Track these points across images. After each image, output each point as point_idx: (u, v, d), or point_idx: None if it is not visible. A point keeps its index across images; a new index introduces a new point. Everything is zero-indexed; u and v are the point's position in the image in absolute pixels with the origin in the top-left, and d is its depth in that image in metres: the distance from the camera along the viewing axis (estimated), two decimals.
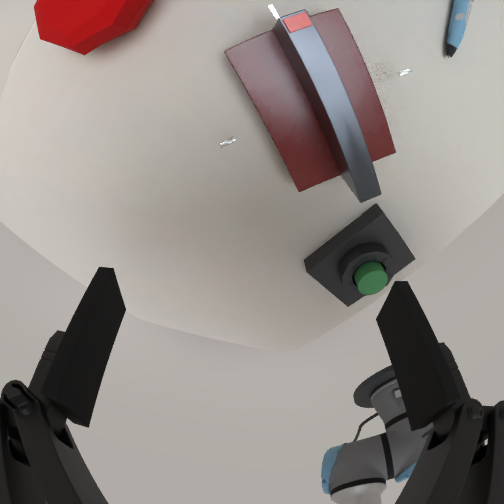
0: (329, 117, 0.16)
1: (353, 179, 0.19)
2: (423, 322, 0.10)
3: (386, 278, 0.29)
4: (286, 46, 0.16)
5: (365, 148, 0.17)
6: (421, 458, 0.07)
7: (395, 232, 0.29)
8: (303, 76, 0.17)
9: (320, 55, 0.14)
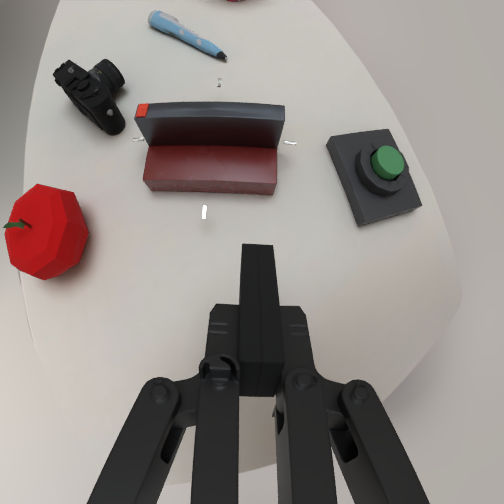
0: (209, 116, 0.24)
1: (262, 118, 0.24)
2: (270, 281, 0.12)
3: (389, 147, 0.28)
4: (159, 133, 0.26)
5: (242, 103, 0.24)
6: (277, 444, 0.08)
7: (354, 134, 0.32)
8: (181, 130, 0.26)
9: (168, 106, 0.24)
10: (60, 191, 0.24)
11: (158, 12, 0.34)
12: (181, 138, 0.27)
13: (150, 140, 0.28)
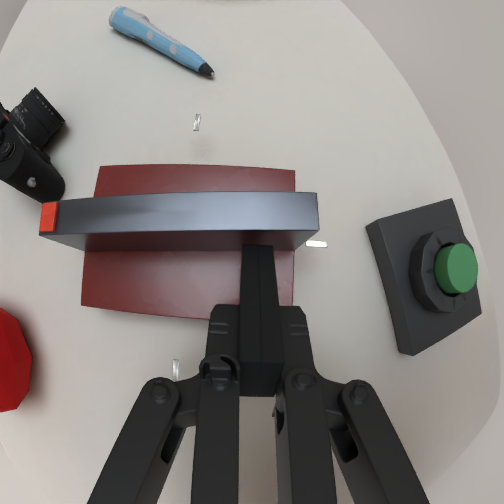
0: (164, 230, 0.12)
1: (274, 229, 0.12)
2: (270, 281, 0.12)
3: (463, 245, 0.17)
4: (91, 244, 0.15)
5: (231, 194, 0.13)
6: (277, 444, 0.08)
7: (409, 213, 0.20)
8: (124, 242, 0.14)
9: (89, 208, 0.12)
10: None
11: (123, 8, 0.22)
12: (129, 247, 0.16)
13: (83, 248, 0.16)
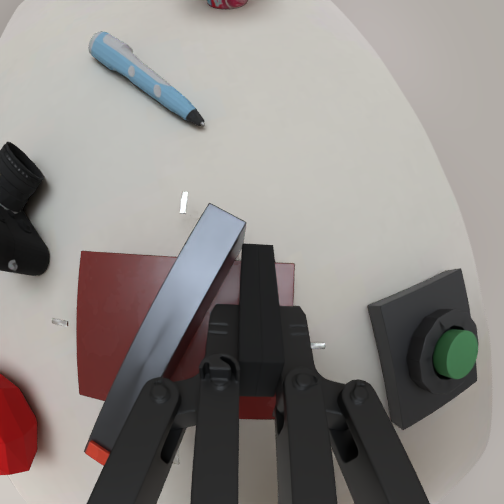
0: (167, 364, 0.11)
1: (221, 263, 0.12)
2: (270, 281, 0.12)
3: (466, 332, 0.15)
4: None
5: (166, 284, 0.11)
6: (277, 444, 0.08)
7: (415, 293, 0.19)
8: None
9: (110, 417, 0.10)
10: None
11: (103, 34, 0.21)
12: None
13: None
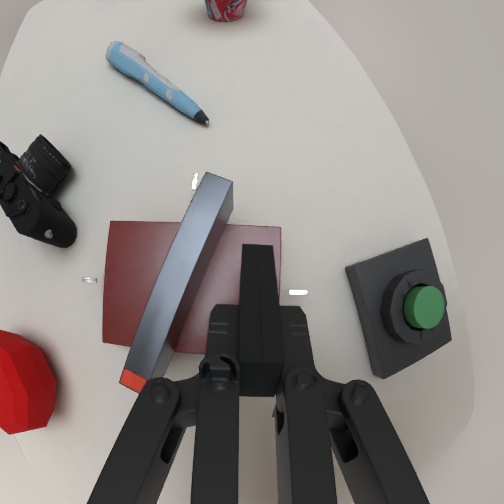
0: (185, 287, 0.16)
1: (218, 210, 0.17)
2: (270, 281, 0.12)
3: (431, 287, 0.21)
4: (165, 360, 0.18)
5: (181, 229, 0.16)
6: (277, 443, 0.08)
7: (385, 256, 0.24)
8: (176, 329, 0.18)
9: (142, 342, 0.15)
10: (10, 354, 0.16)
11: (119, 44, 0.26)
12: (179, 330, 0.19)
13: (163, 372, 0.19)
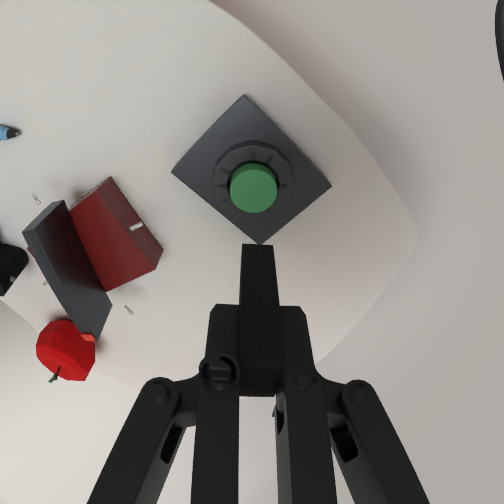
0: (65, 291, 0.22)
1: (42, 248, 0.20)
2: (270, 281, 0.12)
3: (244, 173, 0.21)
4: (99, 308, 0.28)
5: (40, 267, 0.21)
6: (277, 444, 0.08)
7: (196, 146, 0.22)
8: (87, 296, 0.26)
9: (75, 320, 0.25)
10: (51, 345, 0.32)
11: None
12: (94, 288, 0.28)
13: (107, 308, 0.30)
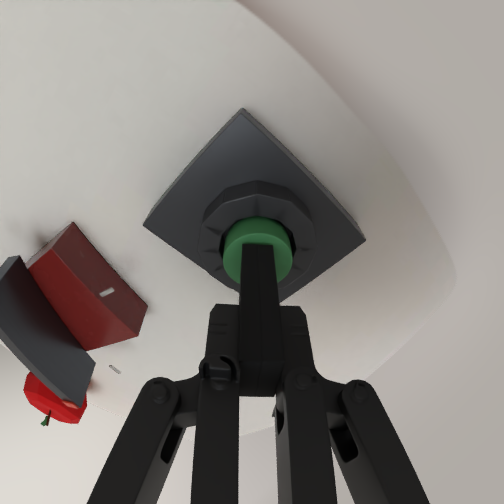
0: (34, 366, 0.16)
1: None
2: (270, 281, 0.12)
3: (244, 238, 0.14)
4: (79, 373, 0.22)
5: (2, 340, 0.15)
6: (277, 443, 0.08)
7: (174, 190, 0.16)
8: (63, 363, 0.20)
9: (53, 390, 0.19)
10: (38, 392, 0.26)
11: None
12: (71, 351, 0.21)
13: (90, 369, 0.24)
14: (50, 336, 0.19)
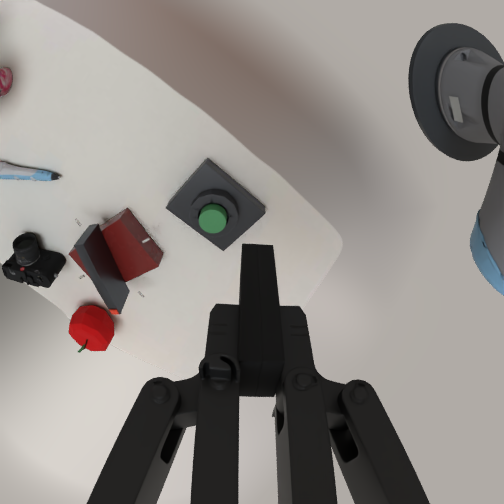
0: (101, 281, 0.39)
1: (88, 255, 0.36)
2: (270, 281, 0.12)
3: (206, 211, 0.37)
4: (121, 293, 0.44)
5: (85, 266, 0.37)
6: (277, 444, 0.08)
7: (180, 193, 0.38)
8: (114, 284, 0.42)
9: (106, 300, 0.41)
10: (82, 322, 0.49)
11: None
12: (118, 279, 0.44)
13: (126, 293, 0.46)
14: (109, 268, 0.41)
